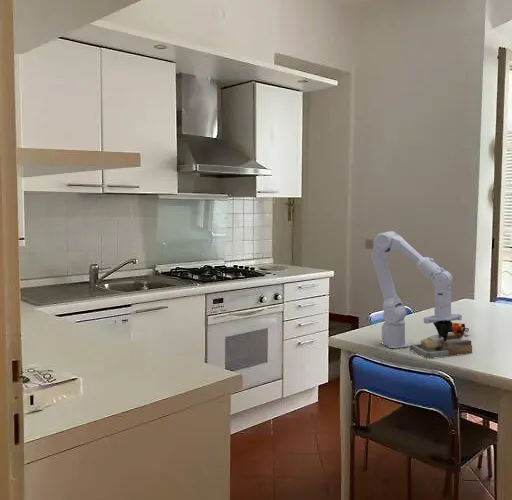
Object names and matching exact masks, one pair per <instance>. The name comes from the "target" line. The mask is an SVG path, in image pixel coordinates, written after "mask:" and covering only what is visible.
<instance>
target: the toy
mask: <svg viewBox="0 0 512 500" xmlns="http://www.w3.org/2000/svg"><path fill="white" fill-rule="evenodd" d="M452 323H453V325H452V327H451V328H450V330H449V333H452V334H455V335H457V337H461V335H462V334H463V333H469V330H470V329H469V328H468V327H466V324H465V323H461V322H460V323H459V322H452Z"/></svg>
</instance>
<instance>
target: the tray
mask: <svg viewBox="0 0 512 500" xmlns="http://www.w3.org/2000/svg"><path fill="white" fill-rule="evenodd" d="M409 345H410V347H409V349H411V350H413V351H414V352H413V351H412V352H413V353H415V352H416V353H415V354H417V353H418V354H417V355H419V354H420V355H419V356H421V355H422V356H421V357H423V356H424V357H423V358H425V357H426V358H425V359H427V358H432V359H435V358H434V357H440V358H442V357H441V356H448V357H450V356H449V351H448V350H445V351H440V350H437V349H435V351H434V352H427V351H425V350H423V349H422V347H421V343H416V344H409ZM411 350H410V351H411Z"/></svg>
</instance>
